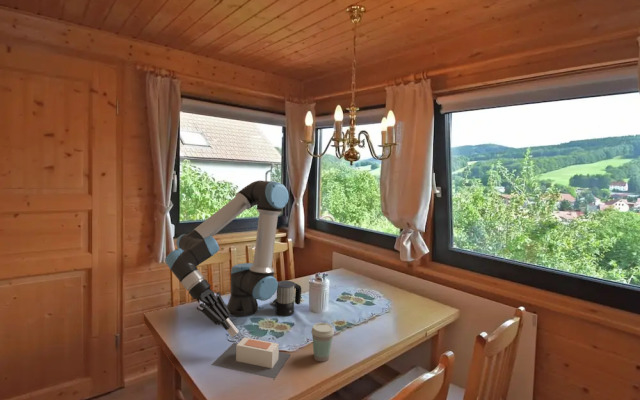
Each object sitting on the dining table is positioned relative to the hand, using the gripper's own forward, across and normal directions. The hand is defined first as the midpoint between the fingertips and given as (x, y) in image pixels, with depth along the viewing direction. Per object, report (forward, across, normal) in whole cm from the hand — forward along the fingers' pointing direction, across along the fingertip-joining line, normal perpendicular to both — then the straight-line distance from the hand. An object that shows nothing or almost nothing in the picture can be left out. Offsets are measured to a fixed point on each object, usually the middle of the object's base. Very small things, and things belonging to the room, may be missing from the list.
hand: (235, 334), depth 125 cm
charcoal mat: (+11, 0, -1) cm, 11 cm away
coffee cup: (+28, -10, +15) cm, 34 cm away
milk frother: (+7, -46, -6) cm, 47 cm away
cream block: (+5, 0, -2) cm, 6 cm away
